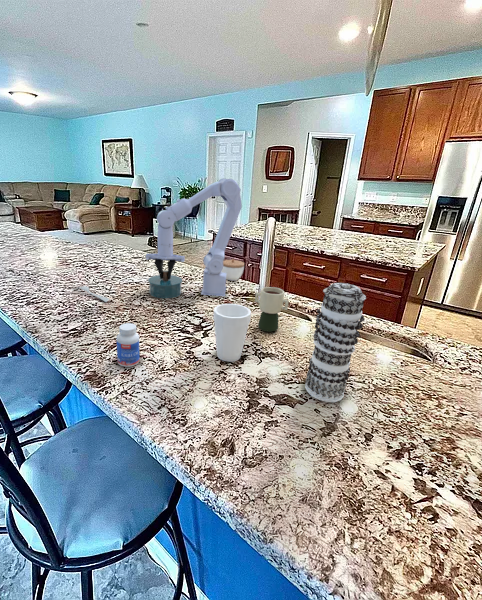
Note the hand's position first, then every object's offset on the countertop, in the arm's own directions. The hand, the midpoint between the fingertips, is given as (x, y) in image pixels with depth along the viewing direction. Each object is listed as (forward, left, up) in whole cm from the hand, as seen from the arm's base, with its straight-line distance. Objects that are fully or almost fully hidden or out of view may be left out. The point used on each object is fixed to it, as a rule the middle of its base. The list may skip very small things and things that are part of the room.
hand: (165, 278), depth 125 cm
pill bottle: (-1, +50, -7) cm, 50 cm away
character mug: (-38, +25, -7) cm, 46 cm away
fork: (+27, +7, -7) cm, 29 cm away
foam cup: (-26, +43, -7) cm, 51 cm away
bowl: (0, 0, -6) cm, 6 cm away
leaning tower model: (-48, +55, -7) cm, 73 cm away
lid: (0, 0, -1) cm, 1 cm away
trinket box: (-26, -27, -7) cm, 38 cm away
